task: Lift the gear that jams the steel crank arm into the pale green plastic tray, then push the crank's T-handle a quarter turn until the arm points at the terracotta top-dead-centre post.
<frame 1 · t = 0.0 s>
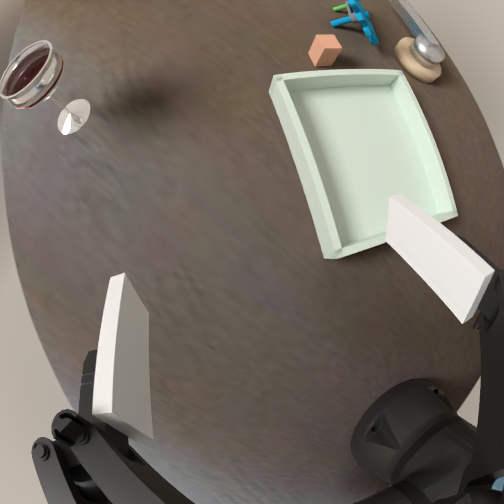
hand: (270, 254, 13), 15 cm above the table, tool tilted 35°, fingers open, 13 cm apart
crank: (420, 4, 22), point 8 cm above the table, hinge at 0.0°
tray: (365, 154, 29), on the table
wineglass: (74, 116, 27), on the table
gear: (351, 29, 30), on the table
crank pedestal: (415, 62, 31), on the table
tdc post: (319, 59, 29), on the table
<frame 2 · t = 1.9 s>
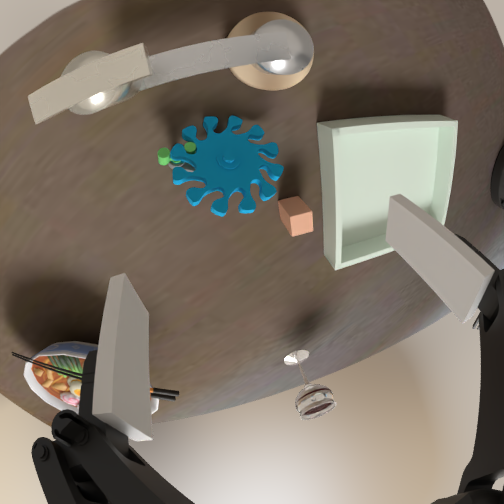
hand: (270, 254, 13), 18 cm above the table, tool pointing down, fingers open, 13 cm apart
crank: (204, 54, 14), point 8 cm above the table, hinge at 0.0°
tray: (387, 181, 33), on the table
ramen bowl: (93, 358, 40), on the table
wineglass: (296, 356, 51), on the table
gear: (216, 150, 27), on the table
crank pedestal: (266, 51, 22), on the table
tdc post: (289, 207, 32), on the table
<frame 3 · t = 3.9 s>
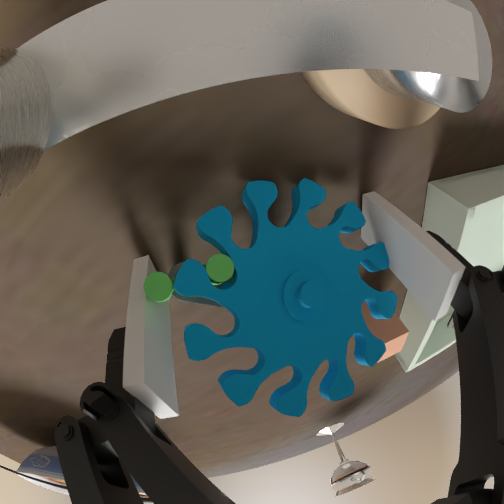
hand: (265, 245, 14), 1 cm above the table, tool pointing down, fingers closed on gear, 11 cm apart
tray: (477, 250, 21), on the table
ramen bowl: (93, 449, 27), on the table
wineglass: (330, 428, 39), on the table
gear: (262, 242, 14), on the table, touching gripper
crank pedestal: (369, 40, 9), on the table
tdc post: (364, 308, 20), on the table
when the fingers open (3 cm above the table, at t = 10.5 s): gear drops 2 cm, resting on tray.
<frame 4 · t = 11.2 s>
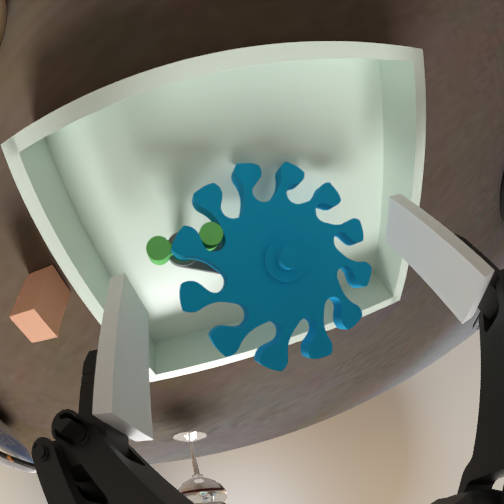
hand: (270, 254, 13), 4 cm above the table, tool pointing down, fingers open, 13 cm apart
tray: (247, 211, 16), on the table
wineglass: (189, 435, 34), on the table
gear: (250, 219, 16), resting on tray
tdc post: (49, 283, 15), on the table
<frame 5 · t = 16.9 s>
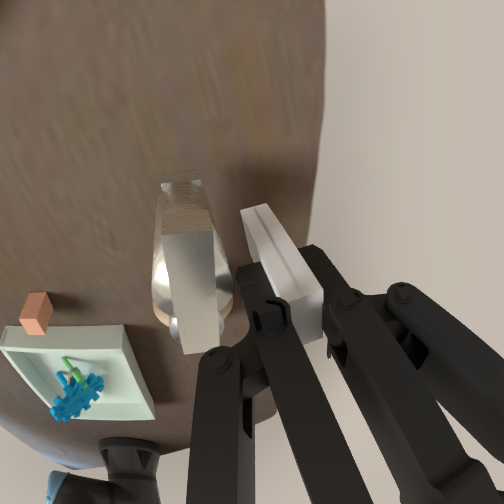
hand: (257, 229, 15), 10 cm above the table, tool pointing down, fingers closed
crank: (193, 303, 18), point 8 cm above the table, hinge at 2.7°, touching gripper
tray: (83, 371, 32), on the table
gear: (80, 373, 32), resting on tray
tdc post: (41, 300, 24), on the table
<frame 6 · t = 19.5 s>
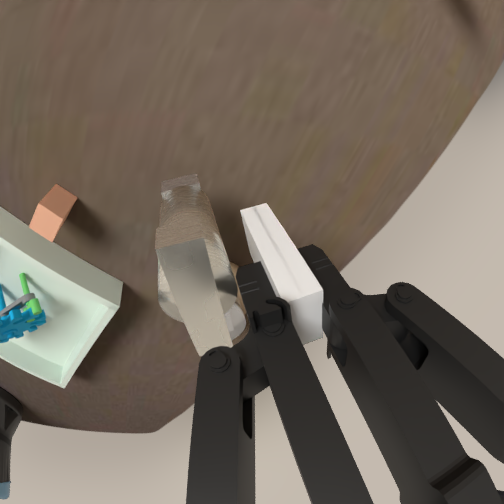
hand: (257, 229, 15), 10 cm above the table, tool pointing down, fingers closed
crank: (209, 303, 19), point 8 cm above the table, hinge at 51.5°, touching gripper
tray: (25, 300, 24), on the table
gear: (21, 300, 23), resting on tray
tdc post: (61, 201, 20), on the table
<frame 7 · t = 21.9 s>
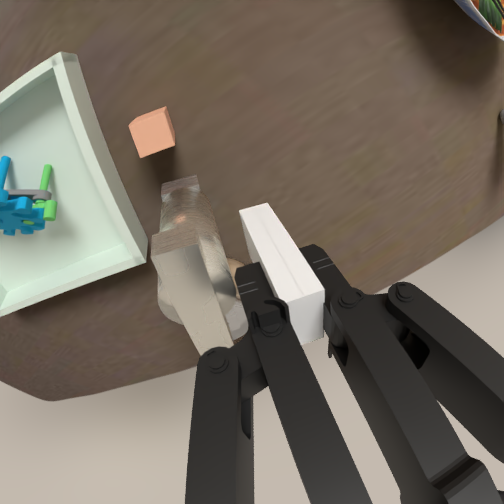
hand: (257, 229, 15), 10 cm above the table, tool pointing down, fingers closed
crank: (213, 303, 19), point 8 cm above the table, hinge at 87.0°, touching gripper
tray: (21, 197, 18), on the table
gear: (18, 193, 18), resting on tray
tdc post: (155, 125, 19), on the table
lightbulb: (499, 114, 25), on the table
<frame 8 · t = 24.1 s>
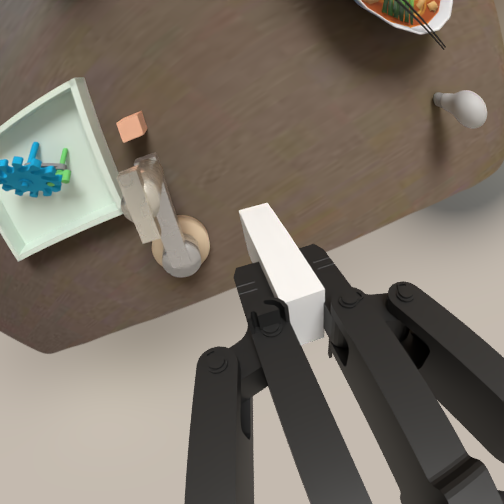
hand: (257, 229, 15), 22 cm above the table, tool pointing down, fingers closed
crank: (164, 232, 29), point 8 cm above the table, hinge at 87.1°
tray: (44, 171, 28), on the table
gear: (42, 167, 28), resting on tray
crank pedestal: (180, 240, 39), on the table
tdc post: (135, 123, 29), on the table
lightbulb: (433, 98, 35), on the table
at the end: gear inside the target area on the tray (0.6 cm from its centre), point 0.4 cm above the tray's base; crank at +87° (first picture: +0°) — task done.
